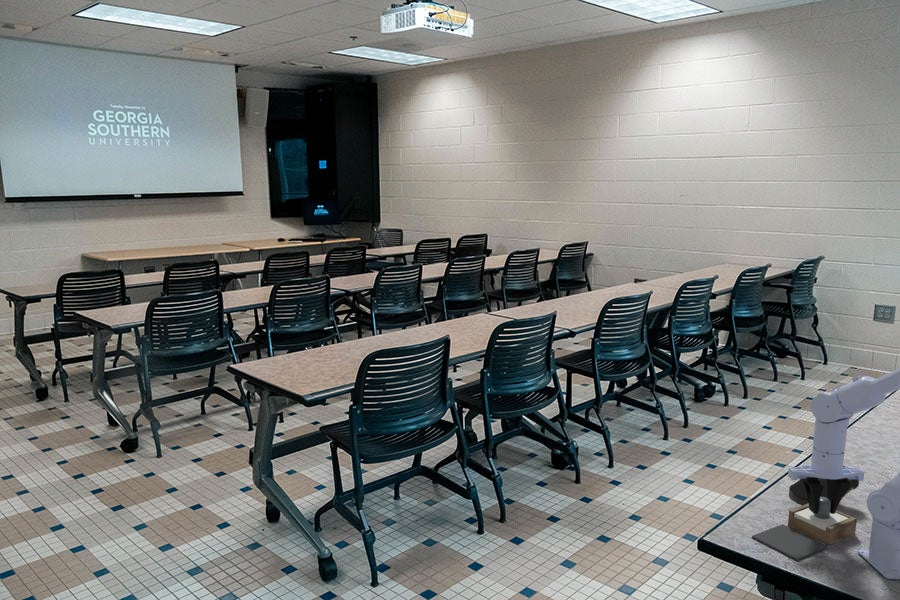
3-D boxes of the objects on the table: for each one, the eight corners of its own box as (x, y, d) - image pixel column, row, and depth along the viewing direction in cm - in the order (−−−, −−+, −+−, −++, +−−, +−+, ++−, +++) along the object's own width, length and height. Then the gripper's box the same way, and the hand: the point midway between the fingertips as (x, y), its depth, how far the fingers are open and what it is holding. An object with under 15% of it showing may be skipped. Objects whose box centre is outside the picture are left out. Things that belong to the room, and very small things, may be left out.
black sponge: (825, 471, 161) (825, 458, 160) (862, 485, 155) (862, 471, 153) (785, 503, 154) (784, 489, 152) (822, 519, 147) (822, 504, 145)
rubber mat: (782, 525, 144) (782, 524, 144) (828, 547, 136) (828, 545, 136) (751, 537, 140) (751, 535, 139) (797, 560, 131) (797, 559, 131)
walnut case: (813, 515, 149) (815, 500, 148) (855, 534, 141) (856, 518, 141) (787, 525, 144) (789, 510, 144) (829, 545, 137) (830, 528, 136)
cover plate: (816, 508, 147) (818, 489, 146) (848, 521, 141) (850, 502, 141) (794, 516, 143) (796, 497, 142) (825, 530, 137) (827, 510, 137)
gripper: (852, 442, 144) (846, 502, 146) (783, 441, 144) (777, 502, 146) (873, 455, 137) (865, 518, 139) (800, 454, 137) (794, 518, 139)
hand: (821, 511), depth 142 cm, fingers closed on cover plate, 3 cm apart
